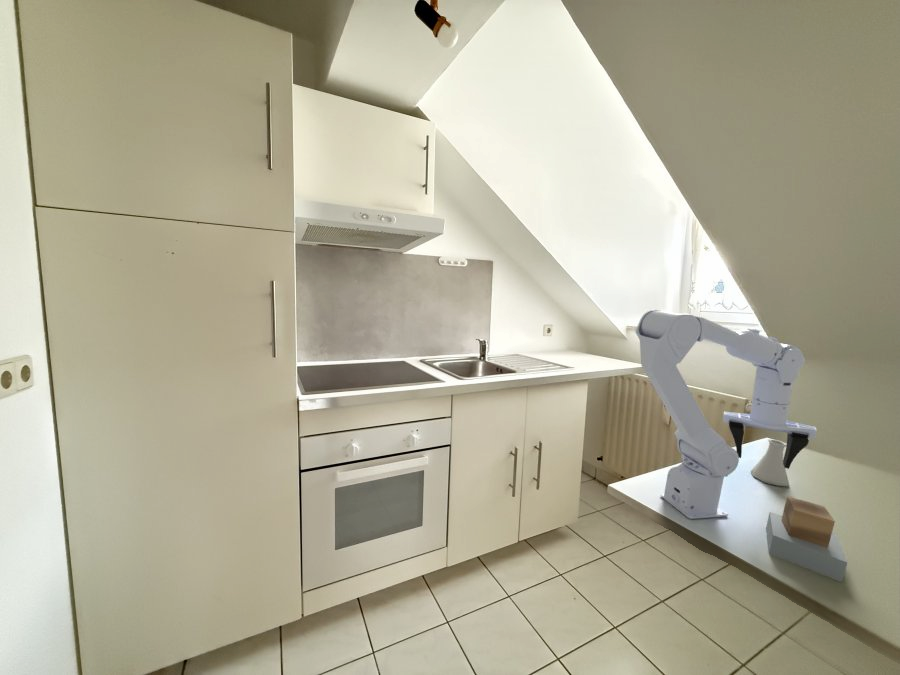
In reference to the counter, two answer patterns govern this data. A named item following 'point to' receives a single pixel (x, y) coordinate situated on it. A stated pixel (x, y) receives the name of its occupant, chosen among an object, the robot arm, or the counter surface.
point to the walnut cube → (807, 521)
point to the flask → (772, 465)
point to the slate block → (805, 550)
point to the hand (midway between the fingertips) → (761, 460)
